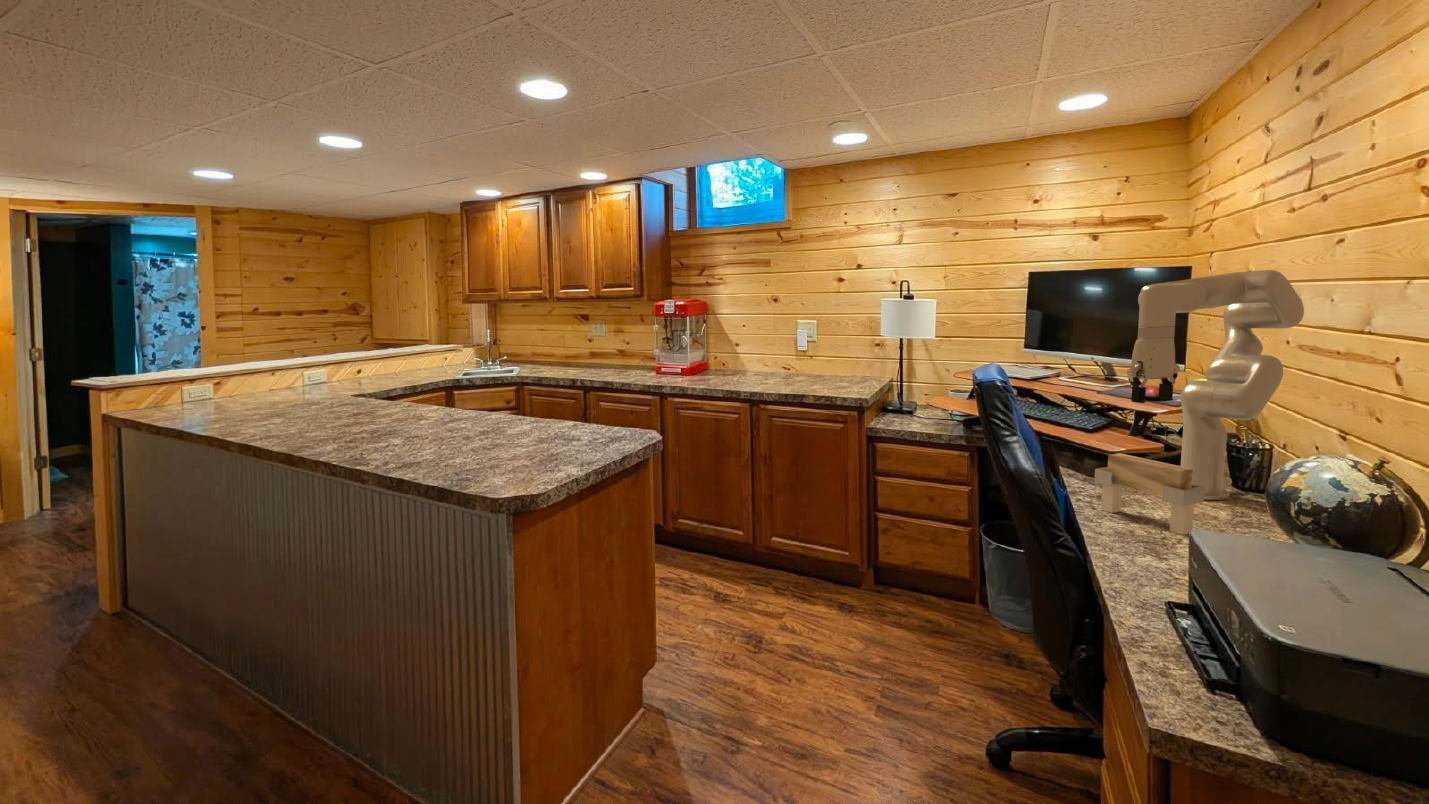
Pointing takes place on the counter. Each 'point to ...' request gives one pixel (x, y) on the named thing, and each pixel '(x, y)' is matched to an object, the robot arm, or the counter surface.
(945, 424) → the counter surface
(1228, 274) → the robot arm
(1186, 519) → the bracket stand
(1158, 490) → the rail
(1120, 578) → the counter surface
